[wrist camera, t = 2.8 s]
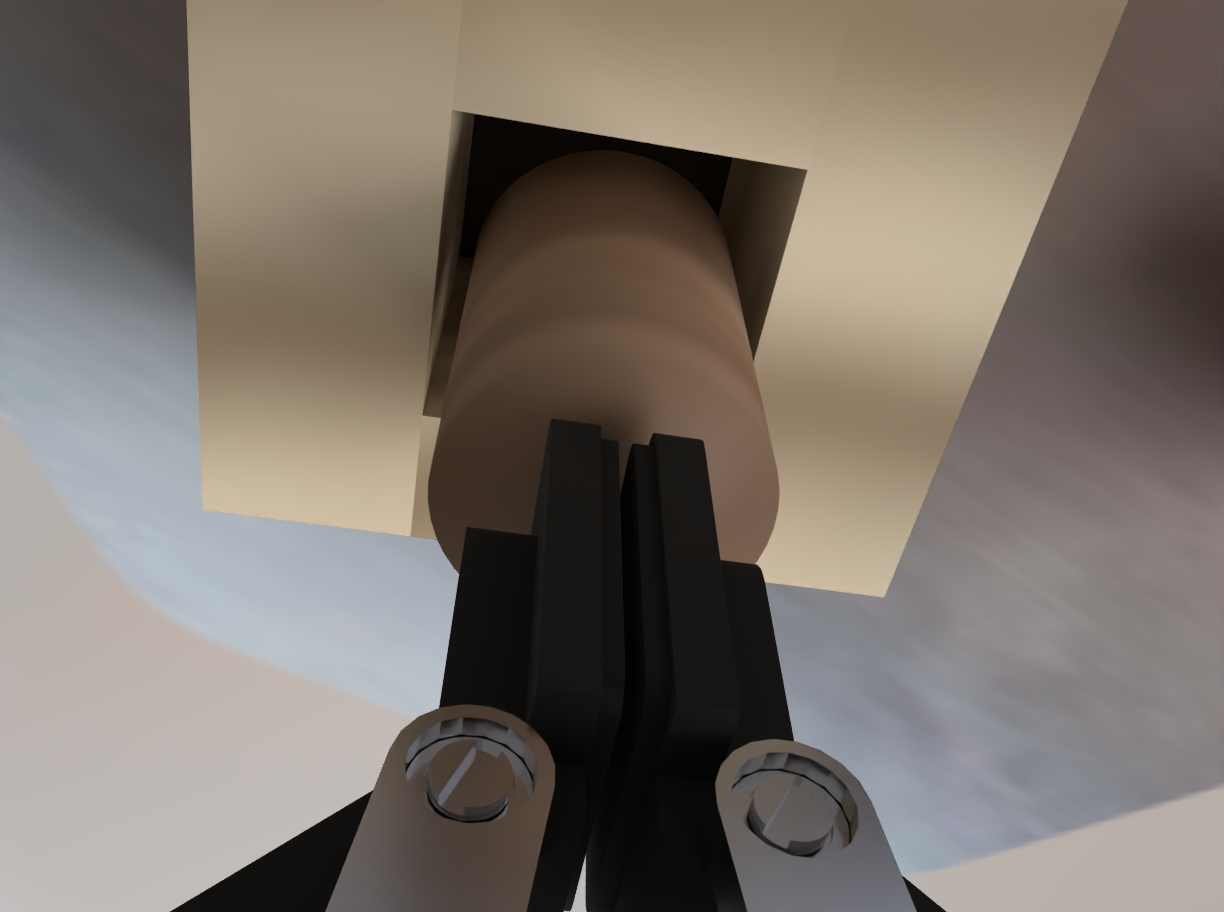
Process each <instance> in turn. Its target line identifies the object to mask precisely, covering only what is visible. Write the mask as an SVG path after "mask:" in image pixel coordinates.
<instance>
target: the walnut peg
mask: <svg viewBox="0 0 1224 912" xmlns="http://www.w3.org/2000/svg"><path fill="white" fill-rule="evenodd" d="M552 418H553V419H560V420H567V421H574V422H581V423H588V424H595V425H600V426H601V439H608V440H615V441H618V443H619V471H620V492H621V488H622V483H623V479H624V474H625V470H626V465H627V461H628V456H629V452H630V449H631V446H632V444H633V443H636V444H644V445H649V442H650V439H651V436H652V435H653V433H659V434H666V435H673V436H680V437H687V438H694V439H701V440H703V441H704V445H705V451H706V459H707V466H708V473H709V480H710V487H711V495H712V502H713V509H714V516H715V523H716V531H717V538H718V545H719V552H720V559H721V560H726V561H734V562H742V563H749V564H756V562H757V561H758V559H759V558H760V556H761V554H762V553H763V551H764V549H765V548H766V546H767V544H768V541H769V539H770V536H771V534H772V532H773V529H774V526H775V522H776V517H777V513H778V507H779V494H780V490H779V479H778V471H777V466H776V462H775V457H774V453H773V448H772V444H771V439H770V435H769V430H768V426H767V421H766V417H765V412H764V408H763V403H762V399H761V394H760V390H759V385H758V381H757V376H756V372H755V367H754V362H753V358H752V353H751V349H750V344H749V340H748V335H747V331H746V326H745V322H744V317H743V313H742V308H741V304H740V299H739V295H738V290H737V286H736V281H735V277H734V272H733V268H732V263H731V259H730V254H729V250H728V246H727V242H726V238H725V234H724V231H723V229H722V226H721V224H720V221H719V219H718V217H717V216H716V214H715V212H714V210H713V209H712V207H711V205H710V204H709V203H708V201H707V200H706V199H705V198H704V196H703V195H702V194H701V193H700V192H699V191H698V190H697V189H696V188H695V187H694V186H693V185H692V184H691V183H690V182H689V181H688V180H686V179H685V178H684V177H682V176H681V175H679V174H678V173H677V172H675V171H674V170H672V169H670V168H668V167H666V166H665V165H663V164H661V163H659V162H656V161H654V160H651V159H648V158H646V157H643V156H639V155H635V154H631V153H626V152H618V151H609V150H603V151H585V152H579V153H572V154H569V155H565V156H562V157H558V158H555V159H553V160H550V161H548V162H546V163H544V164H541V165H539V166H537V167H536V168H534V169H532V170H531V171H529V172H527V173H526V174H524V175H523V176H522V177H520V178H519V179H518V180H517V181H515V182H514V183H513V184H512V185H511V186H510V187H509V188H508V189H507V190H506V191H505V192H504V193H503V194H502V195H501V196H500V197H499V199H498V200H497V202H496V203H495V204H494V206H493V207H492V209H491V210H490V212H489V214H488V216H487V218H486V220H485V222H484V224H483V226H482V229H481V232H480V235H479V238H478V241H477V246H476V251H475V256H474V261H473V265H472V270H471V275H470V280H469V285H468V290H467V294H466V299H465V304H464V309H463V314H462V319H461V323H460V328H459V333H458V338H457V343H456V348H455V352H454V357H453V362H452V367H451V372H450V377H449V381H448V386H447V391H446V396H445V401H444V405H443V410H442V415H441V420H440V425H439V430H438V434H437V439H436V444H435V449H434V454H433V459H432V464H431V469H430V474H429V479H428V506H429V513H430V519H431V522H432V526H433V529H434V532H435V535H436V538H437V540H438V542H439V544H440V546H441V548H442V550H443V552H444V554H445V555H446V557H447V558H448V560H449V561H450V563H451V564H452V566H453V567H454V569H455V570H456V571H457V572H458V573H460V566H461V560H462V553H463V547H464V540H465V534H466V528H467V527H473V528H480V529H488V530H496V531H503V532H511V533H519V534H527V535H531V530H532V524H533V518H534V512H535V506H536V501H537V495H538V489H539V483H540V477H541V472H542V466H543V460H544V454H545V448H546V443H547V437H548V431H549V426H550V422H551V419H552Z"/></svg>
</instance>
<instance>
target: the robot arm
mask: <svg viewBox="0 0 1224 912" xmlns="http://www.w3.org/2000/svg"><path fill="white" fill-rule="evenodd" d="M585 855H586V911H587V912H946V911H945V910H944V909H942V908H941V907H940V906H939V905H937V904H936V903H935V902H934V901H932V900H931V899H930V898H929V897H928V896H926V895H925V894H924V893H923V892H922V891H920V890H919V889H918V888H917V887H915V886H914V885H913V884H912V883H911V882H909V881H908V880H907V879H906V878H904V877H903V876H902V875H901V872H900V870H899V868H898V865H897V863H896V860H895V858H894V855H893V853H892V851H891V848H890V846H889V843H888V841H887V838H886V836H885V834H884V831H883V829H882V826H881V824H880V821H879V819H878V817H877V814H876V812H875V809H874V807H873V804H872V802H871V800H870V798H869V797H868V795H867V793H866V792H865V790H864V788H863V787H862V785H861V783H860V782H859V780H858V779H857V778H856V777H855V776H854V775H853V774H852V773H851V772H850V771H849V770H848V769H847V768H846V767H845V766H844V765H843V764H841V763H840V762H838V761H837V760H835V759H833V758H832V757H830V756H829V755H827V754H825V753H824V752H822V751H821V750H818V749H815V748H813V747H810V746H807V745H804V744H802V743H799V742H794V738H793V733H792V727H791V722H790V716H789V711H788V705H787V700H786V695H785V689H784V684H783V678H782V673H781V667H780V662H779V656H778V651H777V646H776V640H775V635H774V629H773V624H772V618H771V613H770V607H769V602H768V597H767V591H766V586H765V580H764V576H763V573H762V570H761V568H760V567H759V566H758V565H757V564H749V563H742V562H734V561H726V560H721V559H720V552H719V545H718V538H717V531H716V523H715V516H714V509H713V502H712V495H711V487H710V480H709V473H708V466H707V459H706V451H705V445H704V441H703V440H701V439H694V438H687V437H680V436H673V435H666V434H659V433H653V435H652V436H651V439H650V442H649V445H644V444H636V443H633V444H632V446H631V449H630V452H629V456H628V461H627V465H626V470H625V474H624V479H623V483H622V488H621V492H620V471H619V443H618V441H615V440H608V439H601V426H600V425H595V424H588V423H581V422H574V421H567V420H560V419H553V418H552V419H551V422H550V426H549V431H548V437H547V443H546V448H545V454H544V460H543V466H542V472H541V477H540V483H539V489H538V495H537V501H536V506H535V512H534V518H533V524H532V530H531V535H527V534H519V533H511V532H503V531H496V530H488V529H480V528H473V527H467V528H466V534H465V540H464V547H463V553H462V560H461V566H460V573H459V580H458V586H457V593H456V600H455V606H454V613H453V619H452V626H451V633H450V639H449V646H448V653H447V659H446V666H445V673H444V679H443V686H442V692H441V699H440V706H439V709H436V710H434V711H431V712H429V713H426V714H424V715H421V716H419V717H418V718H416V719H415V720H414V721H413V722H411V723H410V724H409V725H408V726H406V727H405V728H404V729H403V730H401V732H400V733H399V735H398V737H397V738H396V740H395V741H394V743H393V744H392V746H391V748H390V750H389V752H388V755H387V757H386V760H385V762H384V764H383V767H382V770H381V772H380V775H379V777H378V780H377V782H376V785H375V787H374V790H373V791H371V792H369V793H368V794H366V795H364V796H363V797H361V798H359V799H358V800H356V801H354V802H353V803H351V804H349V805H348V806H346V807H344V808H343V809H341V810H339V811H338V812H336V813H334V814H333V815H331V816H329V817H328V818H326V819H324V820H323V821H321V822H319V823H317V824H316V825H314V826H313V827H311V828H309V829H308V830H306V831H304V832H303V833H301V834H299V835H298V836H296V837H294V838H292V839H291V840H289V841H287V842H286V843H284V844H282V845H281V846H279V847H277V848H276V849H274V850H272V851H271V852H269V853H267V854H266V855H264V856H262V857H261V858H259V859H257V860H256V861H254V862H252V863H251V864H249V865H247V866H246V867H244V868H242V869H241V870H239V871H237V872H236V873H234V874H232V875H231V876H229V877H227V878H226V879H224V880H222V881H221V882H219V883H217V884H216V885H214V886H212V887H211V888H209V889H207V890H205V891H204V892H202V893H200V894H199V895H197V896H195V897H194V898H192V899H190V900H189V901H187V902H185V903H184V904H182V905H180V906H179V907H177V908H175V909H174V910H172V911H170V912H563V911H570V910H571V908H572V905H573V902H574V898H575V894H576V890H577V886H578V882H579V878H580V874H581V871H582V867H583V862H584V859H585Z"/></svg>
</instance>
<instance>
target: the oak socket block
mask: <svg viewBox="0 0 1224 912" xmlns="http://www.w3.org/2000/svg"><path fill="white" fill-rule="evenodd" d="M1127 3H1128V0H187V31H188V63H189V95H190V126H191V158H192V190H193V221H194V253H195V285H196V316H197V348H198V380H199V411H200V443H201V475H202V506H203V510H210V511H218V512H226V513H234V514H241V515H249V516H257V517H265V518H272V519H280V520H288V521H296V522H303V523H311V524H319V525H327V526H335V527H342V528H350V529H358V530H366V531H373V532H381V533H389V534H397V535H404V536H412V537H420V538H428V539H435V540H437V538H436V535H435V532H434V529H433V526H432V522H431V519H430V513H429V506H428V479H429V474H430V469H431V464H432V459H433V454H434V449H435V444H436V439H437V434H438V430H439V425H440V420H441V415H442V410H443V405H444V401H445V396H446V391H447V386H448V381H449V377H450V372H451V367H452V362H453V357H454V352H455V348H456V343H457V338H458V333H459V328H460V323H461V319H462V314H463V309H464V304H465V299H466V294H467V290H468V285H469V280H470V275H471V270H472V265H473V261H474V258H467V257H461V256H459V254H460V245H461V236H462V226H463V217H464V208H465V199H466V190H467V181H468V172H469V162H470V153H471V144H472V135H473V126H474V117H475V114H479V115H485V116H491V117H497V118H503V119H509V120H515V121H521V122H527V123H533V124H539V125H545V126H551V127H556V128H562V129H568V130H574V131H580V132H586V133H592V134H598V135H604V136H610V137H616V138H622V139H628V140H634V141H639V142H645V143H651V144H657V145H663V146H669V147H675V148H681V149H687V150H693V151H699V152H705V153H711V154H717V155H723V156H728V157H733V159H732V163H731V167H730V171H729V176H728V180H727V184H726V188H725V192H724V196H723V200H722V205H721V209H720V213H719V217H718V219H719V221H720V224H721V226H722V229H723V231H724V234H725V238H726V242H727V246H728V250H729V254H730V259H731V263H732V268H733V272H734V277H735V281H736V286H737V290H738V295H739V299H740V304H741V308H742V313H743V317H744V322H745V326H746V331H747V335H748V340H749V344H750V349H751V353H752V358H753V362H754V367H755V372H756V376H757V381H758V385H759V390H760V394H761V399H762V403H763V408H764V412H765V417H766V421H767V426H768V430H769V435H770V439H771V444H772V448H773V453H774V457H775V462H776V466H777V471H778V479H779V490H780V494H779V507H778V513H777V517H776V522H775V526H774V529H773V532H772V534H771V536H770V539H769V541H768V544H767V546H766V548H765V549H764V551H763V553H762V554H761V556H760V558H759V559H758V561H757V562H756V564H757V565H758V566H759V567H760V568H761V570H762V573H763V576H764V580H765V582H769V583H777V584H785V585H792V586H800V587H808V588H816V589H823V590H831V591H839V592H847V593H854V594H862V595H870V596H878V597H885V594H886V592H887V589H888V587H889V584H890V582H891V579H892V577H893V575H894V572H895V570H896V567H897V565H898V562H899V560H900V557H901V555H902V553H903V550H904V548H905V545H906V543H907V540H908V538H909V535H910V533H911V531H912V528H913V526H914V523H915V521H916V518H917V516H918V513H919V511H920V509H921V506H922V504H923V501H924V499H925V496H926V494H927V492H928V489H929V487H930V484H931V482H932V479H933V477H934V474H935V472H936V470H937V467H938V465H939V462H940V460H941V457H942V455H943V452H944V450H945V448H946V445H947V443H948V440H949V438H950V435H951V433H952V430H953V428H954V426H955V423H956V421H957V418H958V416H959V413H960V411H961V408H962V406H963V404H964V401H965V399H966V396H967V394H968V391H969V389H970V386H971V384H972V382H973V379H974V377H975V374H976V372H977V369H978V367H979V364H980V362H981V360H982V357H983V355H984V352H985V350H986V347H987V345H988V342H989V340H990V338H991V335H992V333H993V330H994V328H995V325H996V323H997V320H998V318H999V316H1000V313H1001V311H1002V308H1003V306H1004V303H1005V301H1006V298H1007V296H1008V294H1009V291H1010V289H1011V286H1012V284H1013V281H1014V279H1015V276H1016V274H1017V272H1018V269H1019V267H1020V264H1021V262H1022V259H1023V257H1024V254H1025V252H1026V250H1027V247H1028V245H1029V242H1030V240H1031V237H1032V235H1033V233H1034V230H1035V228H1036V225H1037V223H1038V220H1039V218H1040V215H1041V213H1042V211H1043V208H1044V206H1045V203H1046V201H1047V198H1048V196H1049V193H1050V191H1051V189H1052V186H1053V184H1054V181H1055V179H1056V176H1057V174H1058V171H1059V169H1060V167H1061V164H1062V162H1063V159H1064V157H1065V154H1066V152H1067V149H1068V147H1069V145H1070V142H1071V140H1072V137H1073V135H1074V132H1075V130H1076V127H1077V125H1078V123H1079V120H1080V118H1081V115H1082V113H1083V110H1084V108H1085V105H1086V103H1087V101H1088V98H1089V96H1090V93H1091V91H1092V88H1093V86H1094V83H1095V81H1096V79H1097V76H1098V74H1099V71H1100V69H1101V66H1102V64H1103V61H1104V59H1105V57H1106V54H1107V52H1108V49H1109V47H1110V44H1111V42H1112V39H1113V37H1114V35H1115V32H1116V30H1117V27H1118V25H1119V22H1120V20H1121V17H1122V15H1123V13H1124V10H1125V8H1126V5H1127Z"/></svg>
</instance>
